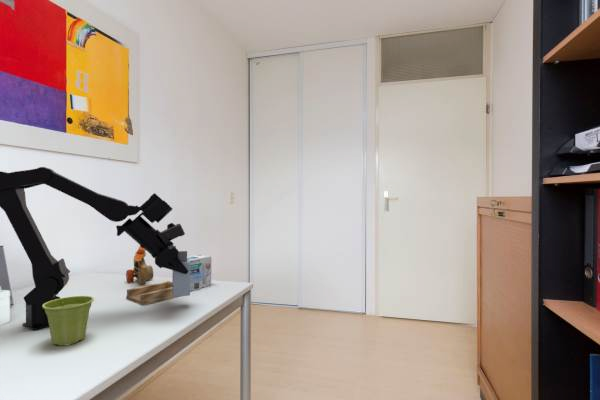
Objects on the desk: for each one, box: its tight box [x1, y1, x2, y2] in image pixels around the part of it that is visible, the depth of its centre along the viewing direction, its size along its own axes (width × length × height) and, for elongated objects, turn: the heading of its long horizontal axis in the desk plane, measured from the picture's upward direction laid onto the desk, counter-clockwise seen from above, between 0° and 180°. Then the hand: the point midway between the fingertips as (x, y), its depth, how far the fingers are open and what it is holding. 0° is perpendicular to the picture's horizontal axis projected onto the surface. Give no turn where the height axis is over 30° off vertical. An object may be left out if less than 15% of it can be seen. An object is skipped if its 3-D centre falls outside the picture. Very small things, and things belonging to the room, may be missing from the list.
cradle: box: [126, 280, 175, 307], centre depth 108 cm, size 14×11×3 cm
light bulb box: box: [187, 254, 212, 292], centre depth 120 cm, size 11×7×11 cm, turn 147°
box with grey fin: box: [171, 250, 191, 298], centre depth 98 cm, size 4×4×12 cm
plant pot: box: [42, 295, 95, 346], centre depth 75 cm, size 9×9×9 cm
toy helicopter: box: [125, 245, 154, 285], centre depth 123 cm, size 8×21×14 cm, turn 38°
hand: (186, 271), depth 99 cm, fingers closed on box with grey fin, 4 cm apart
